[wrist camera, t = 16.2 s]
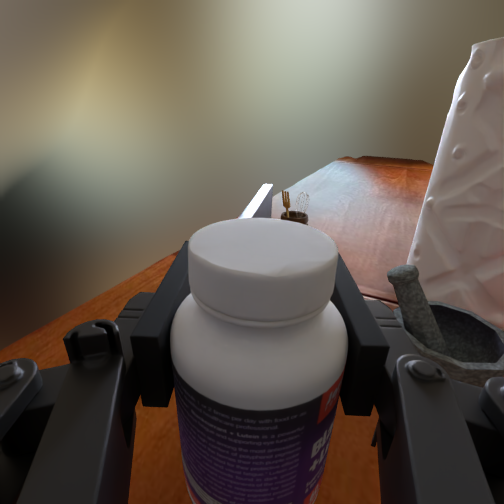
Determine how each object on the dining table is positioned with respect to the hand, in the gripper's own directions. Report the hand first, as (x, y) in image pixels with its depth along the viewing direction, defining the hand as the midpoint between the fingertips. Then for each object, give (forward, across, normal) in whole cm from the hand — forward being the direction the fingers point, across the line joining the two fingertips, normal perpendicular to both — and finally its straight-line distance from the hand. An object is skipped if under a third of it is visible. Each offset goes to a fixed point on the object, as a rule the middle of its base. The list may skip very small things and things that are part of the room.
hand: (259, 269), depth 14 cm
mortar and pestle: (+10, +17, -18) cm, 27 cm away
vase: (+26, +30, -18) cm, 44 cm away
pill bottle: (-5, 0, -6) cm, 8 cm away
